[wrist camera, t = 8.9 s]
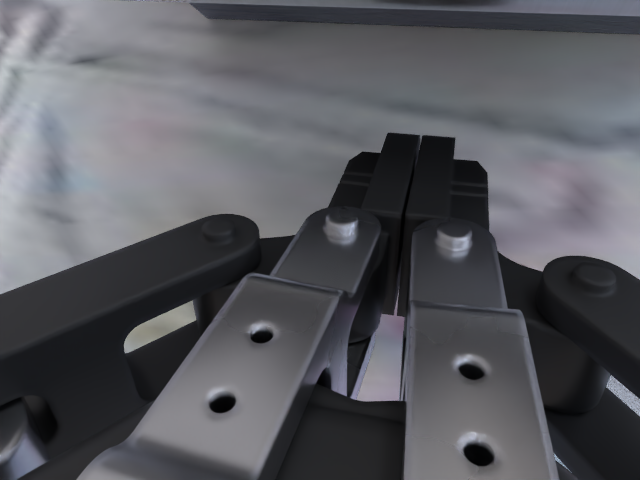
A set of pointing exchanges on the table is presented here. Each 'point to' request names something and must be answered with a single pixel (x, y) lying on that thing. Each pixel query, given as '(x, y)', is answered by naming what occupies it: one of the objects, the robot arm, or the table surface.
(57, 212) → the table surface
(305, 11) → the oven door
